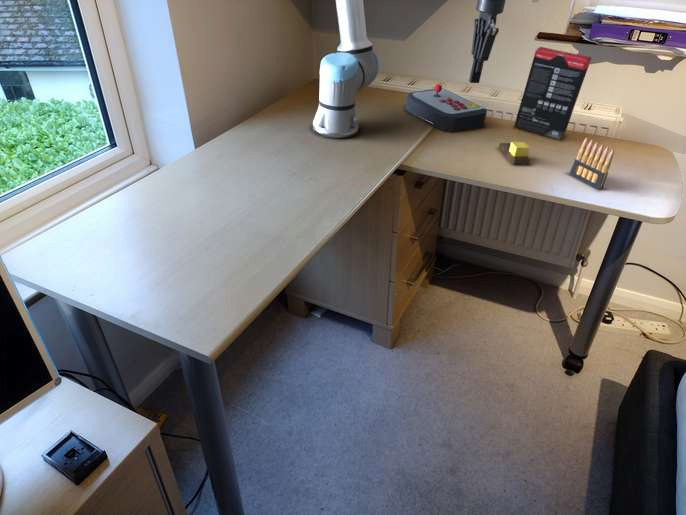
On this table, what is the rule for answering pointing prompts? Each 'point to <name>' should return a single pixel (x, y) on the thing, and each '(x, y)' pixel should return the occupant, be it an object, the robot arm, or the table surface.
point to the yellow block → (519, 149)
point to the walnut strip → (514, 160)
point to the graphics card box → (551, 92)
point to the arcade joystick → (445, 109)
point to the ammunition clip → (592, 165)
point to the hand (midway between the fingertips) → (474, 82)
